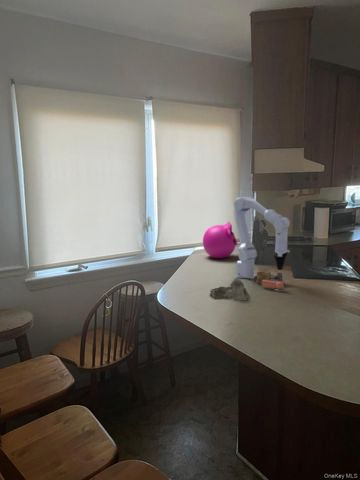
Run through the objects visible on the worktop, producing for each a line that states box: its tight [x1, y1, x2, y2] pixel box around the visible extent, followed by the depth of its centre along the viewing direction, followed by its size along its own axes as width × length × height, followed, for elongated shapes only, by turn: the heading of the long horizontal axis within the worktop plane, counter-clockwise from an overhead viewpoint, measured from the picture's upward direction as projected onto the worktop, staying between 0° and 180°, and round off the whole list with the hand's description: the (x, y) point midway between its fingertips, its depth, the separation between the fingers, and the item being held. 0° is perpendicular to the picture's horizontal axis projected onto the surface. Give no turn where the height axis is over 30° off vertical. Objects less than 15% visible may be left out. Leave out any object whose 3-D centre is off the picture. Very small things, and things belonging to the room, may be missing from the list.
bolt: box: [269, 270, 284, 282], centre depth 180 cm, size 11×4×6 cm, turn 69°
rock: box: [209, 277, 250, 301], centre depth 159 cm, size 18×11×10 cm, turn 77°
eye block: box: [256, 267, 272, 285], centre depth 181 cm, size 6×8×6 cm
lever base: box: [273, 288, 286, 293], centre depth 167 cm, size 5×5×1 cm
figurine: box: [202, 221, 238, 259], centre depth 243 cm, size 23×24×25 cm
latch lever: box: [261, 280, 285, 290], centre depth 169 cm, size 4×10×3 cm, turn 56°
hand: (280, 267), depth 177 cm, fingers open, 7 cm apart
